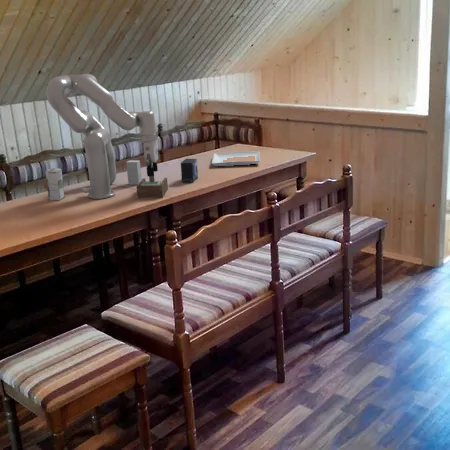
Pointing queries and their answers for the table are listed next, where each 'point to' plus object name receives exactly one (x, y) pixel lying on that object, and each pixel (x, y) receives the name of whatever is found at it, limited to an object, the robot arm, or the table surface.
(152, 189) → the bay
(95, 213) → the table surface
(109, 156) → the glass bottle
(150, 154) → the robot arm
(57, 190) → the syrup box
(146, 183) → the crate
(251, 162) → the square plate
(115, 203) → the table surface
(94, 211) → the table surface
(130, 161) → the skincare box
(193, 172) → the small box
